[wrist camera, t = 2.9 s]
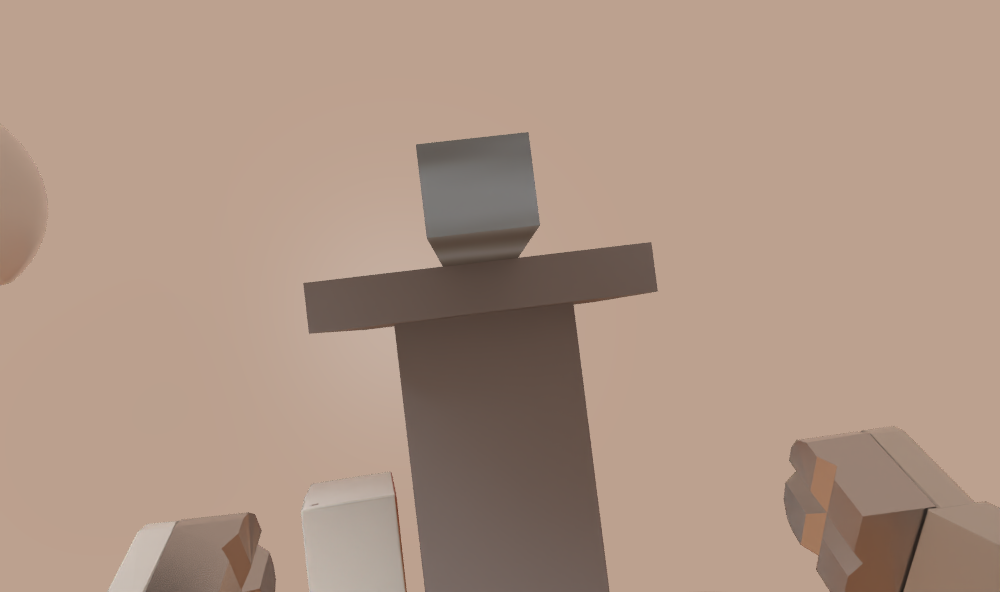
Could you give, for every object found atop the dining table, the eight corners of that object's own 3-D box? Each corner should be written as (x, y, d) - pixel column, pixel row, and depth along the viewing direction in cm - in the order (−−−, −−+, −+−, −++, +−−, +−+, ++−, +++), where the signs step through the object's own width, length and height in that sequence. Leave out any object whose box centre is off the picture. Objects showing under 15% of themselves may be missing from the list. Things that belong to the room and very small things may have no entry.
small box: (419, 691, 43) (396, 493, 44) (320, 715, 42) (297, 510, 43) (411, 636, 51) (391, 469, 52) (327, 654, 50) (308, 482, 51)
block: (539, 225, 18) (528, 132, 18) (427, 238, 17) (415, 144, 17) (503, 279, 39) (498, 237, 40) (453, 284, 39) (448, 243, 39)
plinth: (736, 899, 26) (651, 242, 27) (378, 958, 25) (303, 283, 26) (644, 697, 40) (590, 269, 41) (412, 731, 39) (363, 296, 40)
